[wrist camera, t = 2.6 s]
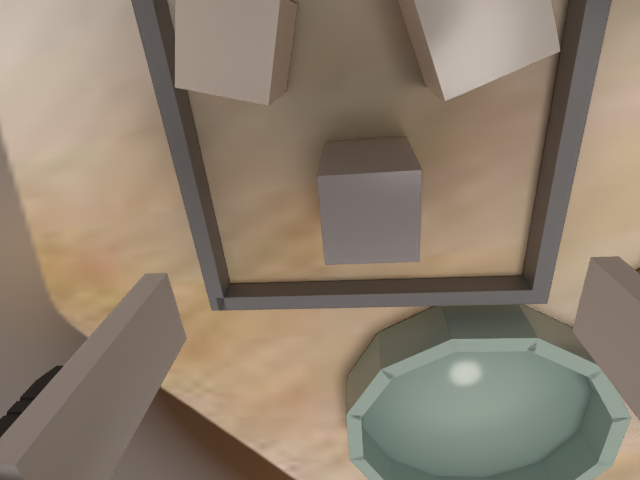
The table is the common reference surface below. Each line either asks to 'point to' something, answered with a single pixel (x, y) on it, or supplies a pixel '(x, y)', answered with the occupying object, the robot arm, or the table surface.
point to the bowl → (481, 400)
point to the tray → (530, 288)
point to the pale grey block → (477, 40)
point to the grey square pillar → (370, 201)
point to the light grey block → (234, 47)
